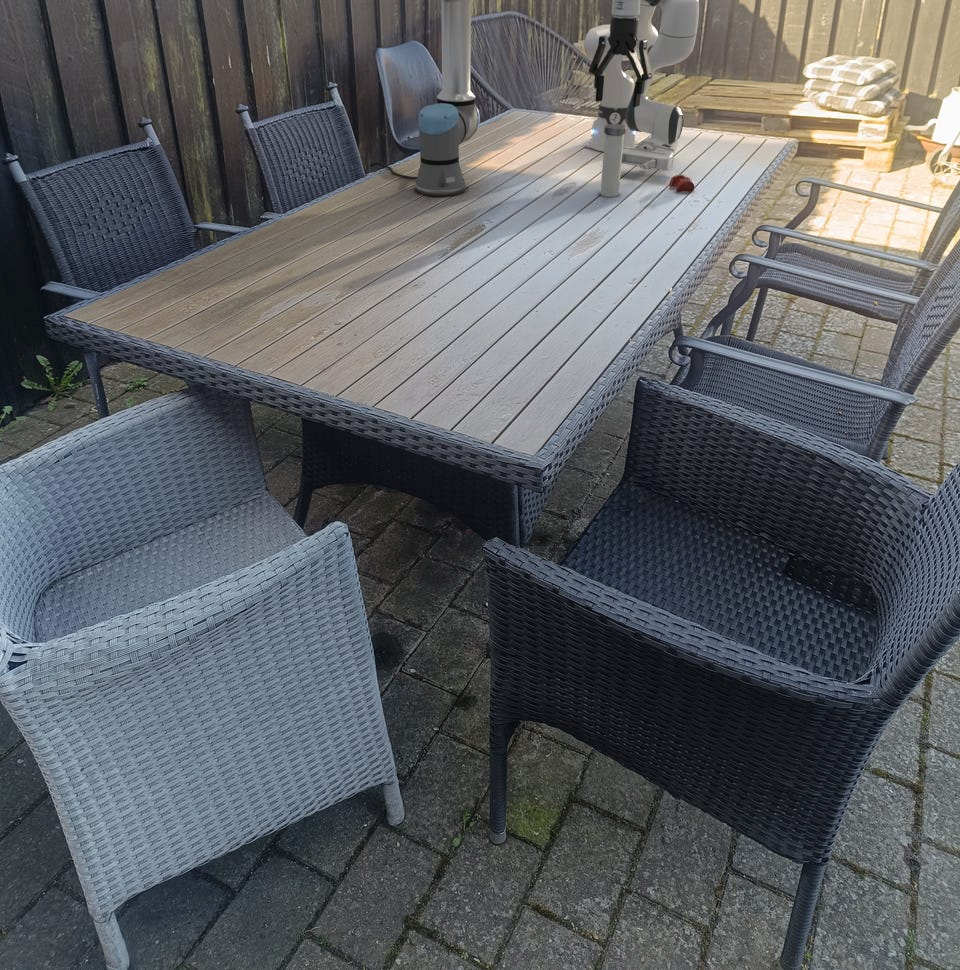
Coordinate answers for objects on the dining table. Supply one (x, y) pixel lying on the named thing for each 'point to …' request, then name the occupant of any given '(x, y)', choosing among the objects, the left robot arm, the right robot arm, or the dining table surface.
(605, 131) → the lid
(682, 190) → the dental model
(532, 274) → the dining table surface
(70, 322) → the dining table surface
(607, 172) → the bottle
